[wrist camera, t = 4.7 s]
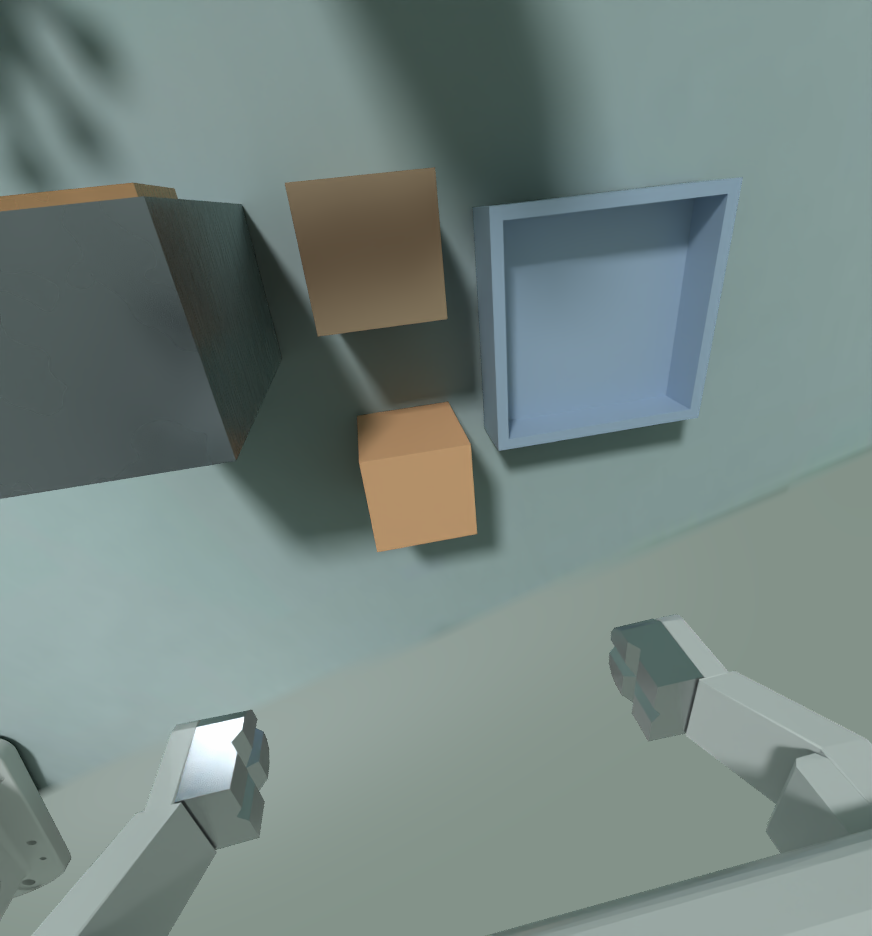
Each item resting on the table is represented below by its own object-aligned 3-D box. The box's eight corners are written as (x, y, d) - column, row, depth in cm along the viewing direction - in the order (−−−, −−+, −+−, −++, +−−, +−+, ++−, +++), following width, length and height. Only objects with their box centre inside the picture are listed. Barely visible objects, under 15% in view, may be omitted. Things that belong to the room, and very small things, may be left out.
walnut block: (426, 297, 21) (447, 319, 17) (324, 310, 20) (317, 336, 16) (414, 178, 19) (435, 167, 14) (299, 190, 18) (284, 183, 14)
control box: (283, 364, 21) (239, 471, 12) (143, 384, 21) (-5, 510, 12) (238, 192, 18) (135, 172, 9) (70, 210, 17) (-208, 207, 9)
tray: (666, 399, 25) (698, 417, 23) (484, 428, 24) (498, 450, 22) (698, 181, 20) (742, 177, 18) (472, 207, 19) (489, 206, 17)
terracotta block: (455, 479, 26) (477, 534, 21) (372, 493, 25) (377, 552, 21) (447, 401, 23) (470, 444, 19) (356, 415, 23) (359, 462, 19)
